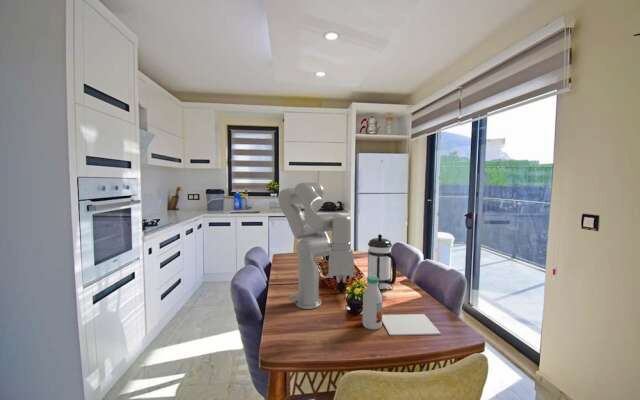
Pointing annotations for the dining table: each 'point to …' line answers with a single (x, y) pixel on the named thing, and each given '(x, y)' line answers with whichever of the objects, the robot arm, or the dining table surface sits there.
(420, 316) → the mat
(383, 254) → the coffee press
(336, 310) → the dining table surface
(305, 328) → the dining table surface
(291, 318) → the dining table surface
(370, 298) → the milk bottle
